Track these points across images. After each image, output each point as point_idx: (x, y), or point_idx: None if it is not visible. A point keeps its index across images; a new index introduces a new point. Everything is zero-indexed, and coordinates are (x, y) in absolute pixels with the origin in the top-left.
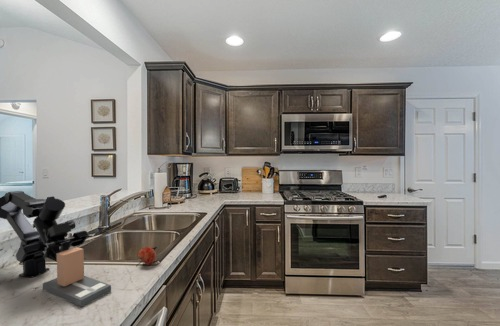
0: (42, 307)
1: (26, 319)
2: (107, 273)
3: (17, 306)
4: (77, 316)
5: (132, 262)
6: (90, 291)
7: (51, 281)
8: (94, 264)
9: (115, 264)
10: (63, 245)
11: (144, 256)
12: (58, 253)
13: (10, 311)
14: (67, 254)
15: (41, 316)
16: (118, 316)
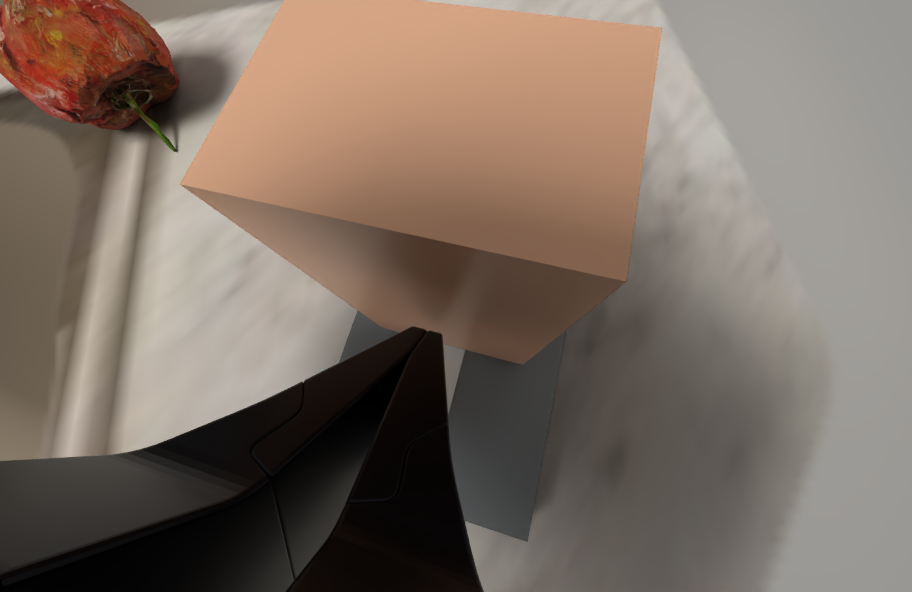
0: (671, 288)
1: (773, 263)
2: (266, 248)
3: (728, 467)
4: (656, 70)
5: (115, 207)
6: None
7: (481, 487)
8: None
9: (132, 297)
10: (126, 552)
11: (137, 21)
12: (611, 226)
13: (779, 450)
14: (574, 29)
15: (723, 214)
16: None
